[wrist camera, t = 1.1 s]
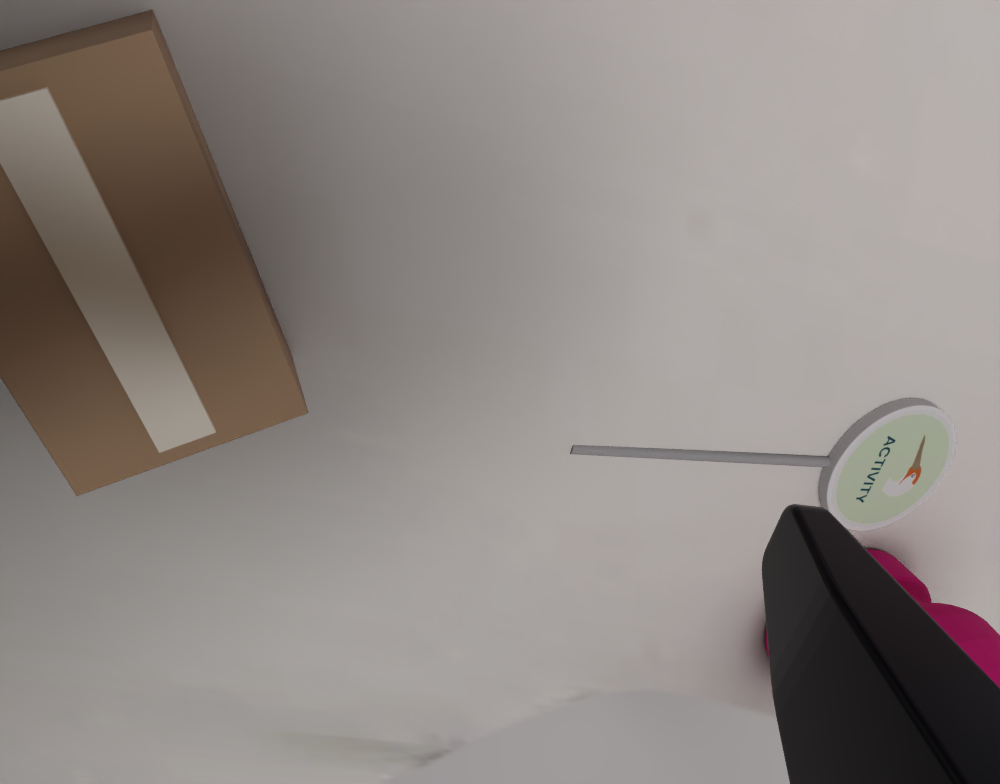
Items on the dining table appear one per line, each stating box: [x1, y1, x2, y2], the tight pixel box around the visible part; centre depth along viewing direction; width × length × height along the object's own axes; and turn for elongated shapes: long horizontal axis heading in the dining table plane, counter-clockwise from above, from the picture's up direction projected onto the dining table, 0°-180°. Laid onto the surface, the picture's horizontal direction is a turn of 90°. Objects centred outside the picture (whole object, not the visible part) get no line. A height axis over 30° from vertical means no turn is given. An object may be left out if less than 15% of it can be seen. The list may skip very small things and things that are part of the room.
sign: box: [570, 398, 956, 531], centre depth 28 cm, size 5×1×15 cm
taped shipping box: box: [0, 10, 308, 496], centre depth 17 cm, size 8×5×3 cm, turn 13°
